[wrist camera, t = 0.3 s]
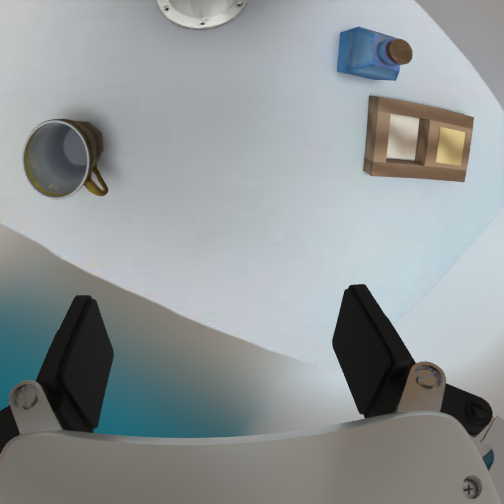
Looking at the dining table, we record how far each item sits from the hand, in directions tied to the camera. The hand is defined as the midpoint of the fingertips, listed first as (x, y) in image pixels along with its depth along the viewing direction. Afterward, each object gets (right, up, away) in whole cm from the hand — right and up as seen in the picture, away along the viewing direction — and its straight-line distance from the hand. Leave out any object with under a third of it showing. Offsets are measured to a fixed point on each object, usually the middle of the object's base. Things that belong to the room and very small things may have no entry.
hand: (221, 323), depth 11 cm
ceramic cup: (-22, +17, +29) cm, 40 cm away
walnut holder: (+28, +21, +33) cm, 48 cm away
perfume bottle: (+16, +31, +26) cm, 44 cm away
